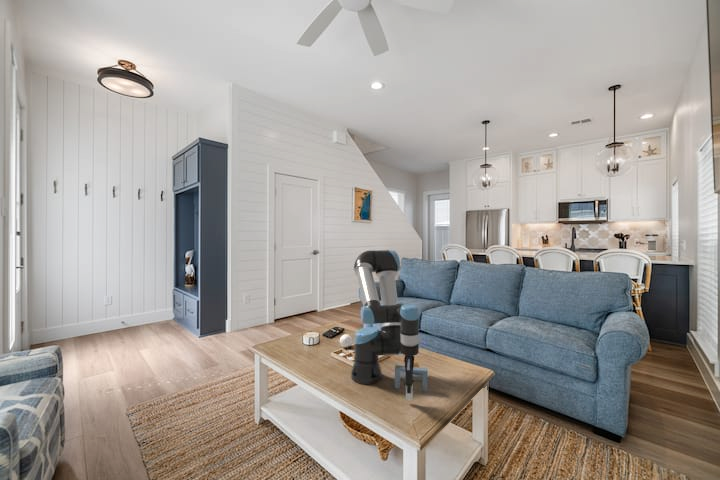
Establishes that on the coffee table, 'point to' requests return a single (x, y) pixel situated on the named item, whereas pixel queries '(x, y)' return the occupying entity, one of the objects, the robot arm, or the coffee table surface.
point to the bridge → (415, 370)
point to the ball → (415, 364)
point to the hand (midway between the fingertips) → (409, 399)
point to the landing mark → (415, 376)
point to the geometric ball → (346, 340)
